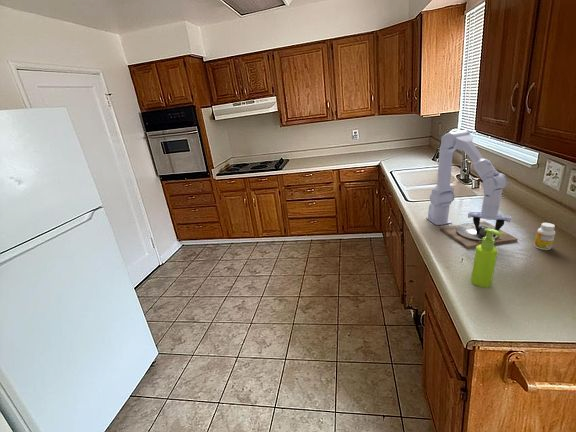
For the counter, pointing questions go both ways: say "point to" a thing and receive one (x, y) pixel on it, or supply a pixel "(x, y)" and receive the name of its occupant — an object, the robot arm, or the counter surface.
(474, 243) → the dial base
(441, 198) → the robot arm
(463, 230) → the dial
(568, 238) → the counter surface
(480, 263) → the soap dispenser
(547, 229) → the supplement bottle
